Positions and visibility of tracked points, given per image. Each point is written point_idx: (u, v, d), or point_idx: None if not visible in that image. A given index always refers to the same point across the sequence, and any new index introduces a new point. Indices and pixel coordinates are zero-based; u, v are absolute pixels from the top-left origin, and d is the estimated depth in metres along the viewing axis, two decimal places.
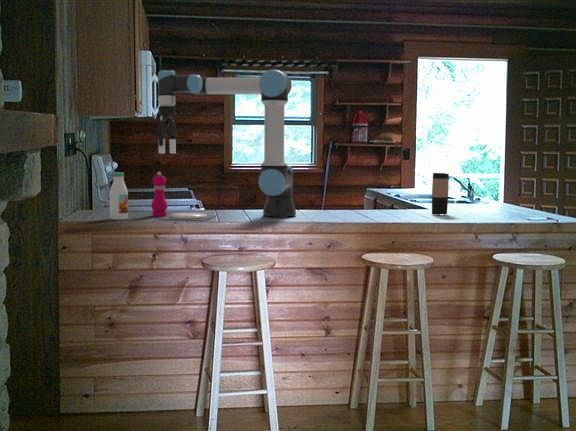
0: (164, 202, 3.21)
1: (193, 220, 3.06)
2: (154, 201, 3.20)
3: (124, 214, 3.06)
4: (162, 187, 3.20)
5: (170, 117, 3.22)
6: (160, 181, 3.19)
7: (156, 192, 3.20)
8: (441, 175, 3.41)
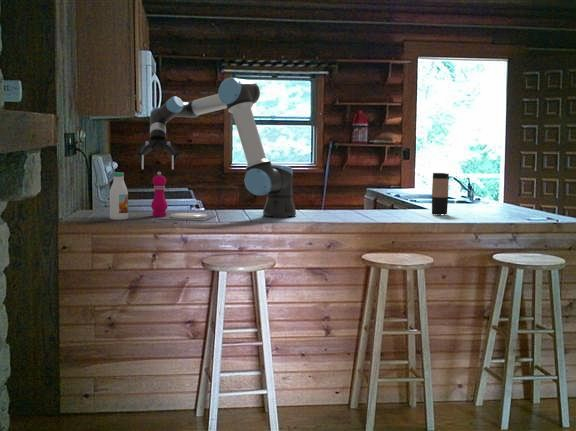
0: (164, 202, 3.21)
1: (193, 220, 3.06)
2: (154, 201, 3.20)
3: (124, 214, 3.06)
4: (162, 187, 3.20)
5: (161, 140, 3.37)
6: (160, 181, 3.19)
7: (156, 192, 3.20)
8: (441, 175, 3.41)
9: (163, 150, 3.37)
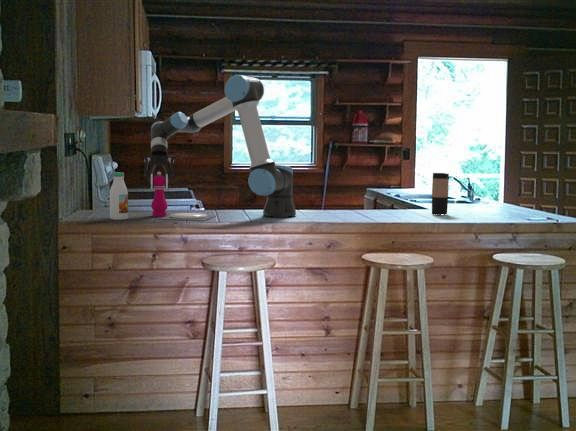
0: (164, 202, 3.21)
1: (193, 220, 3.06)
2: (154, 201, 3.20)
3: (124, 214, 3.06)
4: (162, 187, 3.20)
5: (163, 154, 3.29)
6: (160, 181, 3.19)
7: (156, 192, 3.20)
8: (441, 175, 3.41)
9: None
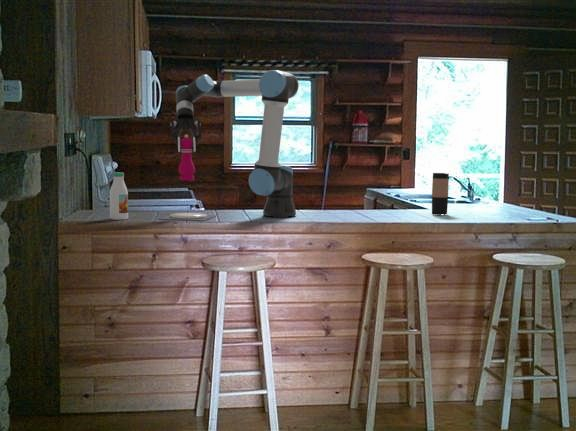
0: (192, 165, 3.13)
1: (193, 220, 3.06)
2: (182, 164, 3.12)
3: (124, 214, 3.06)
4: (189, 150, 3.13)
5: (189, 118, 3.22)
6: (188, 143, 3.11)
7: (183, 155, 3.13)
8: (441, 175, 3.41)
9: (189, 130, 3.21)
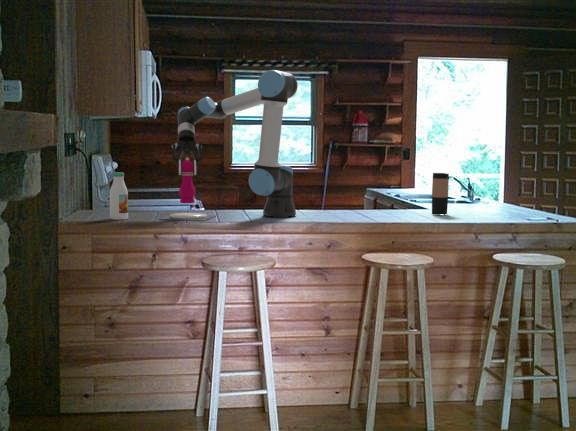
0: (192, 188, 3.14)
1: (193, 220, 3.06)
2: (182, 187, 3.13)
3: (124, 214, 3.06)
4: (190, 173, 3.13)
5: (190, 140, 3.22)
6: (189, 166, 3.12)
7: (184, 178, 3.14)
8: (441, 175, 3.41)
9: (190, 152, 3.21)
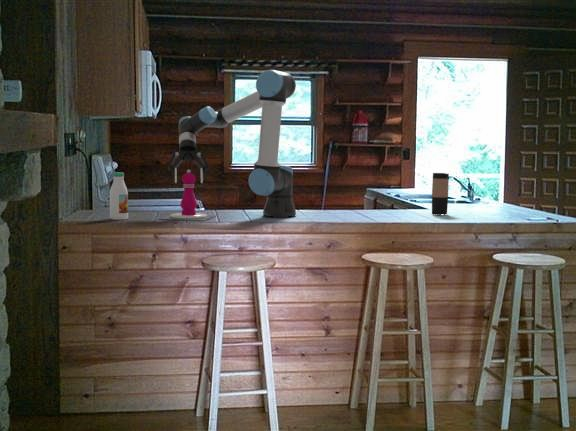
0: (194, 200, 3.14)
1: (193, 220, 3.06)
2: (184, 199, 3.13)
3: (124, 214, 3.06)
4: (192, 185, 3.14)
5: (191, 150, 3.22)
6: (190, 178, 3.12)
7: (186, 190, 3.14)
8: (441, 175, 3.41)
9: (193, 161, 3.22)
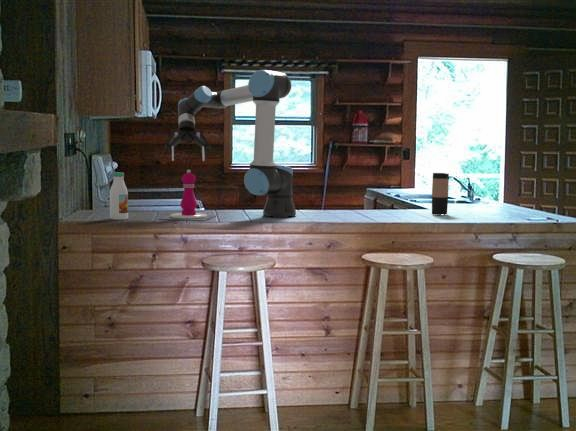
0: (194, 200, 3.14)
1: (193, 220, 3.06)
2: (184, 199, 3.13)
3: (124, 214, 3.06)
4: (192, 185, 3.14)
5: None
6: (190, 179, 3.12)
7: (186, 190, 3.14)
8: (441, 175, 3.41)
9: (193, 141, 3.29)
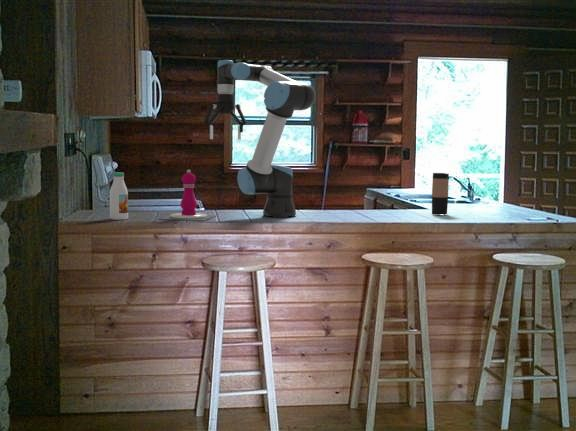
0: (194, 200, 3.14)
1: (193, 220, 3.06)
2: (184, 199, 3.13)
3: (124, 214, 3.06)
4: (192, 185, 3.14)
5: (227, 104, 3.36)
6: (190, 179, 3.12)
7: (186, 190, 3.14)
8: (441, 175, 3.41)
9: None
